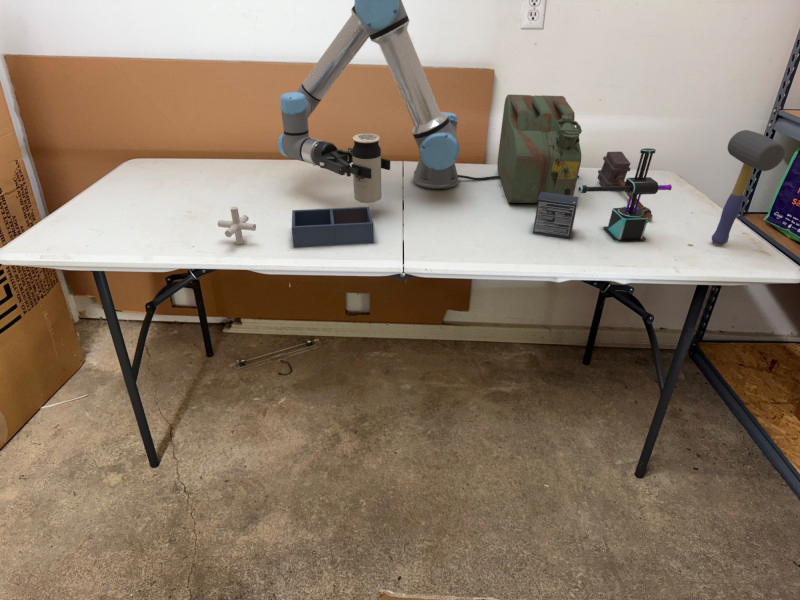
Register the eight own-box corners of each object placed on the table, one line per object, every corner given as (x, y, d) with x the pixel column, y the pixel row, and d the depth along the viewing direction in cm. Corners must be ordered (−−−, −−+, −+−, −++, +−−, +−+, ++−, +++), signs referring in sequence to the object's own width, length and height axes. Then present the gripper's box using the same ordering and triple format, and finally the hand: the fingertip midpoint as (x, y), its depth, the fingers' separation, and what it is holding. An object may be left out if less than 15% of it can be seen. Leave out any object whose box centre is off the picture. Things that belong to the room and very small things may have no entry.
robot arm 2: (641, 226, 153) (667, 143, 139) (657, 241, 145) (686, 154, 132) (559, 229, 150) (576, 144, 137) (571, 243, 143) (590, 156, 129)
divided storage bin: (369, 225, 151) (369, 206, 147) (373, 242, 142) (373, 223, 138) (294, 229, 148) (292, 210, 144) (293, 247, 139) (291, 227, 135)
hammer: (614, 176, 183) (623, 150, 175) (653, 234, 160) (666, 207, 153) (595, 177, 182) (604, 151, 175) (632, 235, 159) (644, 207, 152)
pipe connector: (249, 253, 135) (243, 218, 130) (213, 249, 137) (206, 214, 131) (264, 236, 144) (260, 202, 138) (231, 232, 145) (225, 198, 140)
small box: (571, 229, 150) (579, 195, 144) (570, 239, 145) (578, 204, 139) (534, 224, 153) (540, 190, 147) (531, 233, 148) (537, 198, 142)
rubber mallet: (692, 234, 149) (730, 127, 132) (717, 233, 150) (758, 127, 133) (718, 255, 139) (763, 142, 122) (744, 254, 139) (793, 142, 123)
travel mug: (368, 191, 159) (367, 131, 149) (386, 198, 154) (386, 137, 144) (348, 198, 154) (345, 137, 144) (366, 206, 149) (364, 143, 139)
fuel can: (508, 207, 163) (521, 118, 148) (496, 168, 192) (505, 91, 177) (570, 209, 162) (590, 120, 147) (548, 170, 191) (562, 92, 176)
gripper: (344, 156, 166) (401, 172, 155) (296, 175, 152) (356, 193, 141) (342, 133, 162) (402, 147, 151) (294, 149, 148) (355, 166, 137)
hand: (380, 169), depth 146 cm, fingers closed on travel mug, 8 cm apart
